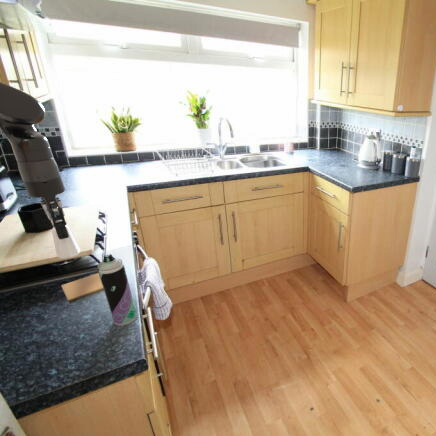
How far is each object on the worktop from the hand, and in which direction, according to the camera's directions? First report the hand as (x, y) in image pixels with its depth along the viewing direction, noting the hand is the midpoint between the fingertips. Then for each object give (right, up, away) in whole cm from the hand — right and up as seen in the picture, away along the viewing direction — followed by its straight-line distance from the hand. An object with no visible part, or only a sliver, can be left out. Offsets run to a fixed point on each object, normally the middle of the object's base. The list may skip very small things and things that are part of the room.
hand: (62, 235), depth 89 cm
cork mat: (-2, -17, +9) cm, 19 cm away
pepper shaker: (0, -6, +3) cm, 6 cm away
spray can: (+19, -23, -2) cm, 30 cm away
